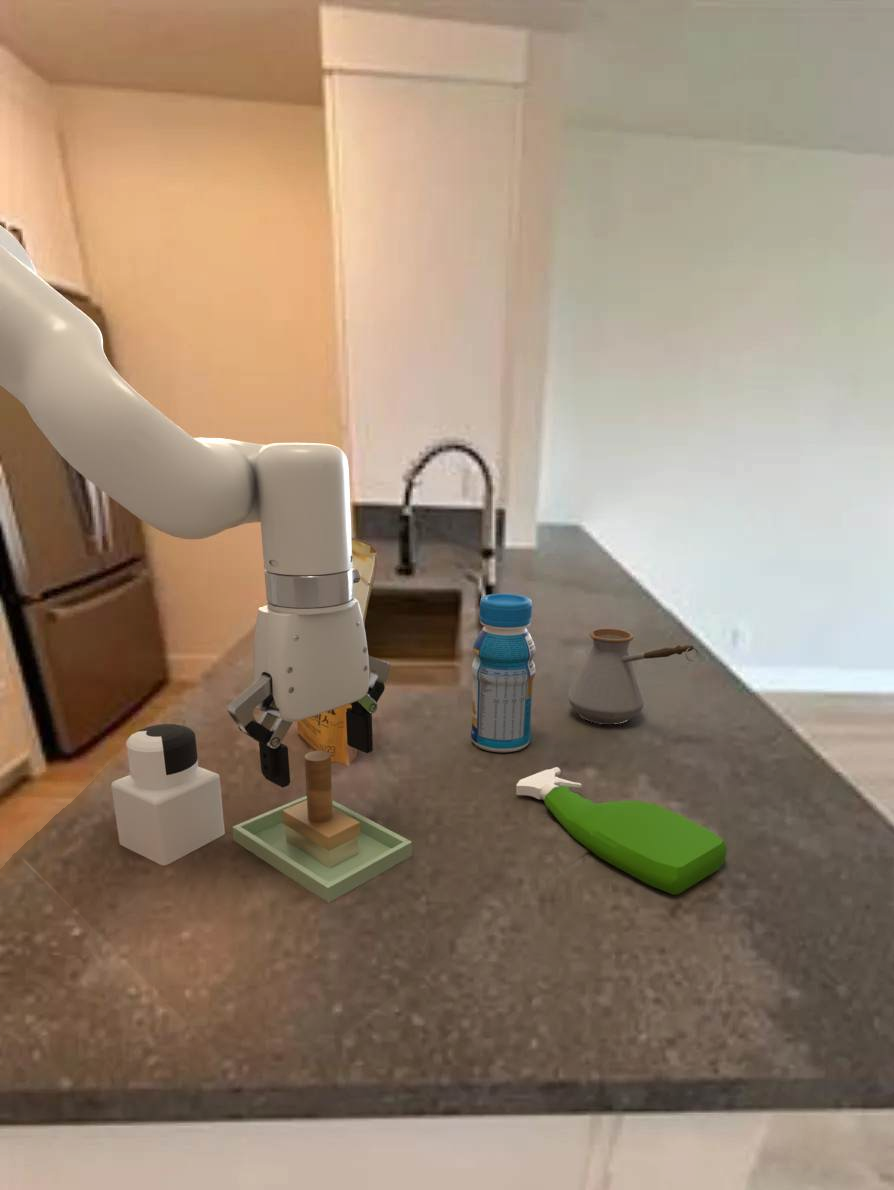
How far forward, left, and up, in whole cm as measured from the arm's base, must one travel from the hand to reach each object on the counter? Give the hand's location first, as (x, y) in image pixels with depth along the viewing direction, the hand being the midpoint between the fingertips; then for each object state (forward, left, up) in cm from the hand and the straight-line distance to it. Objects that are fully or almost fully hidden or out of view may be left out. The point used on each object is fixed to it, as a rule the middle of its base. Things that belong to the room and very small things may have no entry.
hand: (320, 764), depth 69 cm
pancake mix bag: (-20, +17, -10) cm, 28 cm away
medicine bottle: (-12, -9, -10) cm, 18 cm away
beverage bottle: (-4, +33, -10) cm, 34 cm away
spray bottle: (+19, +23, -10) cm, 31 cm away
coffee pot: (+6, +50, -10) cm, 51 cm away
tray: (0, 0, -10) cm, 10 cm away
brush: (0, 0, -9) cm, 9 cm away
